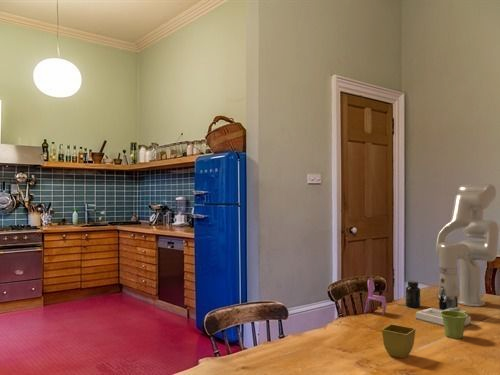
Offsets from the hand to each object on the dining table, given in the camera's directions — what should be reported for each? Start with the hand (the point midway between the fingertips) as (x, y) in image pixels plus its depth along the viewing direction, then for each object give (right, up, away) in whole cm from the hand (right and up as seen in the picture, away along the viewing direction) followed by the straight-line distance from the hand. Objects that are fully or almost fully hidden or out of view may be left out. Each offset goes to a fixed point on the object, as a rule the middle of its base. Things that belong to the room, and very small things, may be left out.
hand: (448, 308), depth 197 cm
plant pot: (-12, -2, -32) cm, 34 cm away
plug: (0, -2, 0) cm, 2 cm away
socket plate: (-8, -2, -12) cm, 15 cm away
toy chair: (-33, -3, +2) cm, 33 cm away
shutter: (-5, +1, -16) cm, 17 cm away
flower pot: (-40, -2, -51) cm, 65 cm away
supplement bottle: (-11, -3, +13) cm, 17 cm away
